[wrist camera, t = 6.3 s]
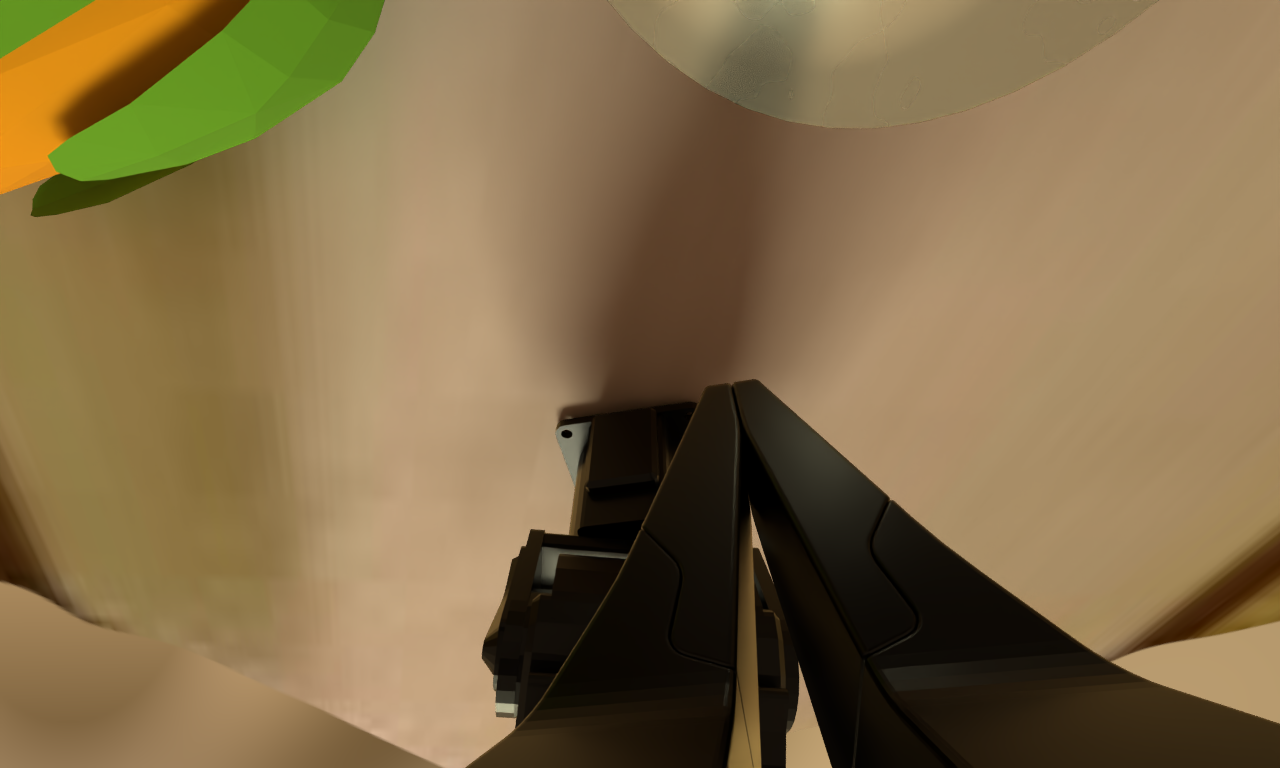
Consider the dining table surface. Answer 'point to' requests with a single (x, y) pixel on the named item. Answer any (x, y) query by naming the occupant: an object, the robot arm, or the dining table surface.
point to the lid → (871, 51)
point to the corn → (156, 84)
